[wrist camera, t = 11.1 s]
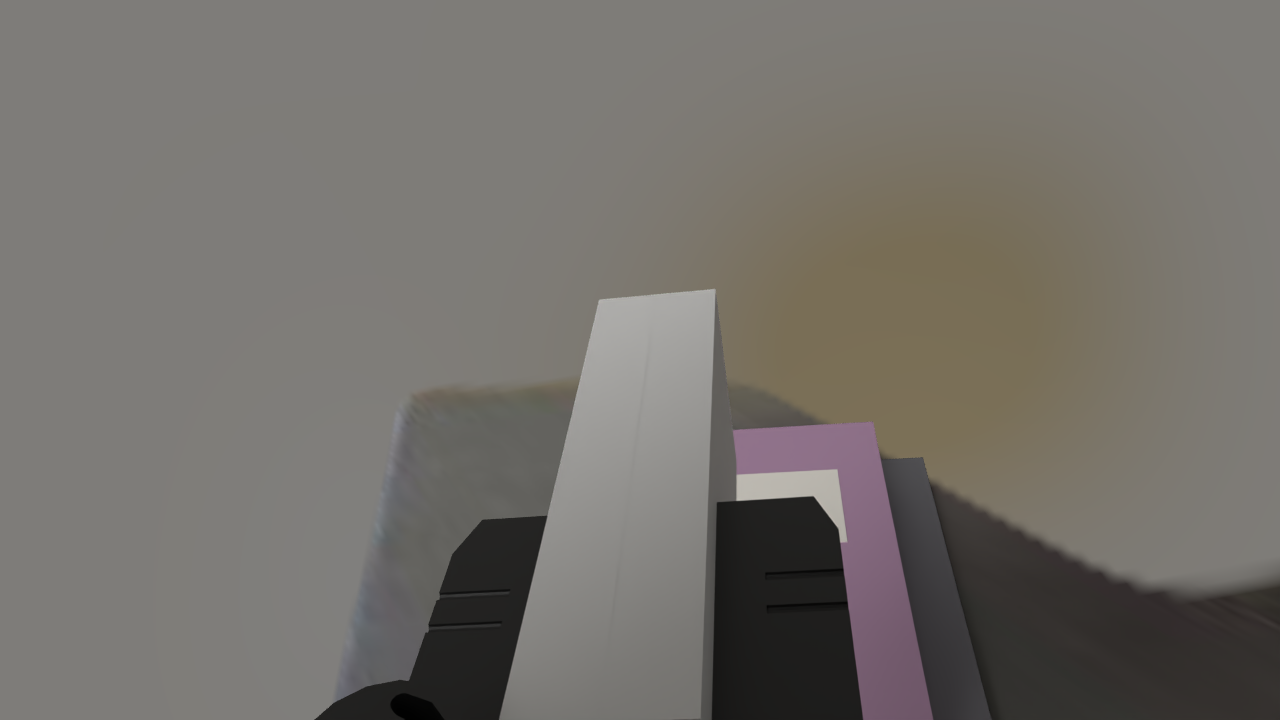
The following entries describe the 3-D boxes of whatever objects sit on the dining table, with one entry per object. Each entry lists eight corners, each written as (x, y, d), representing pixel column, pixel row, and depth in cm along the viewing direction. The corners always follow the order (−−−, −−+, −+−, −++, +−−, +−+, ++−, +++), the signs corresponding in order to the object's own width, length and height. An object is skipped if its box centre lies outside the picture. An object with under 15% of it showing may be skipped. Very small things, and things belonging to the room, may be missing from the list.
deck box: (934, 723, 30) (872, 420, 44) (606, 730, 32) (645, 434, 45) (932, 799, 32) (874, 486, 46) (622, 802, 34) (655, 497, 47)
